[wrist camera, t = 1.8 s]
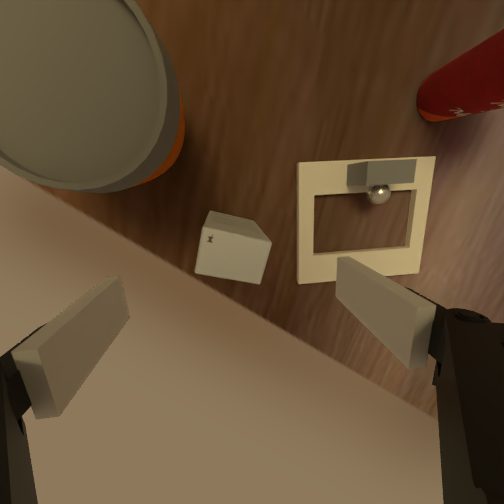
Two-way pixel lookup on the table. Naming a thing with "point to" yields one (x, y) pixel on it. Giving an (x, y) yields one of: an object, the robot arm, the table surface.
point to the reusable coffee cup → (86, 95)
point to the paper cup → (466, 83)
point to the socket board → (356, 181)
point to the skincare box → (232, 248)
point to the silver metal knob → (378, 194)
